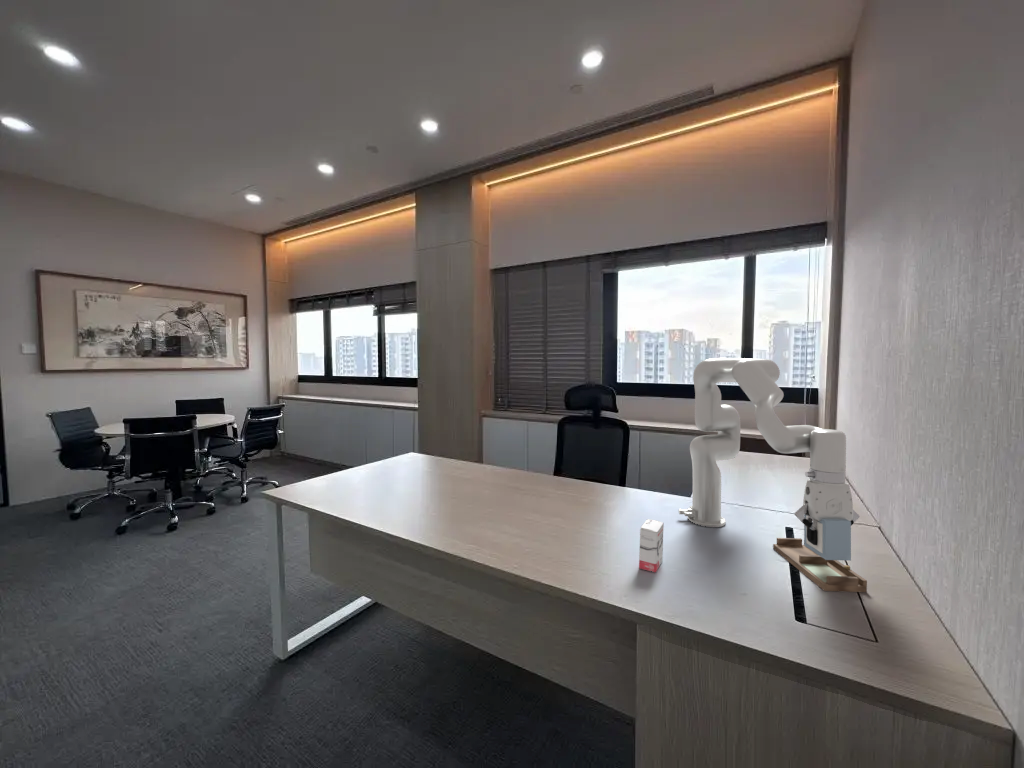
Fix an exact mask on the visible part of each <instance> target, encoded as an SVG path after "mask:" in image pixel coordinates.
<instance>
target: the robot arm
mask: <svg viewBox="0 0 1024 768" xmlns="http://www.w3.org/2000/svg"><path fill="white" fill-rule="evenodd" d="M780 371H781V370H780V367H779V366H778V364H777V363H776V362H775V361H773V360H771V359H768V358H745V357H744V358H742V357H734V358H733V357H718V358H717V357H714V358H708V359H704V360H702V361H700V362H699V363H698V364H697V365H696V366H695V369H694V370H693V375H692V376H693V377H692V379H693V385H694V393H695V394H694V395H695V396H694V400H695V401H694V424H695V427H696V428H697V430H699V431H701V432H707V433H711V432H717V434H704V435H699V436H696V437H694V438H693V439H692V440H691V441H690V443H689V444H690V445H689V453H690V458H691V464H692V466H691V467H692V500H691V501H692V504H691V505H690V506H689V508H687V509H686V508H685V509H684V508H679V509H678V514H679V515H684V516H685V517H687V519H689V520H690V521H691V522H690V521H689V520H688V521H689V522H690V523H692V522H693V523H692V524H694V523H695V525H697V524H698V526H700V525H701V527H705V526H706V528H721V527H724V526H726V523H727V521H726V518H724V517H723V516H722V472H721V470H720V467H719V466H718V464H717V462H720V461H729V460H733V459H736V458H737V456H738V455H739V453H740V449H741V426H742V425H741V416H740V413H739V411H738V410H737V409H736V408H735V407H734V406H733V405H731V404H730V405H729V404H722V393H721V389H720V388H719V387H718V383H737V385H738V386H739V387H740V389H741V390H742V392H743V393H745V395H746V397H747V398H748V399H749V400H750V402H751V403H752V404H753V406H754V407H755V410H754V419H755V420H754V421H755V425H756V428H757V430H758V432H759V433H760V434H761V436H762V437H763V438H764V440H765V441H766V442H767V444H768V445H769V446H770V447H771V448H772V449H773V450H774V451H776V452H777V453H780V454H797V453H808V452H809V470H808V471H805V473H804V475H805V477H806V478H809V479H807V480H806V483H805V487H804V492H803V503H802V506H801V507H799V509H798V510H796V511H795V512H794V514H793V515H794V516H795V517H796V518H797V519H798V520H800V522H801V523H802V524H803V525H805V526H806V527H807V539H808V541H809V542H810V543H812V544H813V545H817V543H818V531H817V530H815V529H816V527H817V522H818V521H822V519H847V520H849V521H851V526H853V525H854V524H855V522H856V521H857V520H859V518H860V515H859V514H858V513H857V512H856V511H855V510H854V505H853V495H852V490H851V487H850V483H848V482H846V473H847V471H846V467H847V466H846V464H847V462H846V461H847V453H846V452H847V435H846V434H845V432H843V431H841V430H839V429H831V428H830V429H829V428H821V427H818V426H815V425H811V424H801V425H800V424H798V425H794V424H793V425H785V424H784V423H783V421H782V420H781V419H780V418H779V416H778V415H777V414H776V412H775V407H776V406H777V405H778V404H779V403H780V402H781V401H782V400H783V398H784V396H785V395H784V391H783V390H782V389H781V388H780V387H779V385H778V384H777V383H776V382H777V381H778V380H779V378H780V376H781V374H780V373H781V372H780ZM804 514H805V515H807V516H808V517H807V519H806V518H805V517H804ZM812 519H813V521H812Z"/></svg>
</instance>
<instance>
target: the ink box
mask: <svg viewBox="0 0 1024 768" xmlns="http://www.w3.org/2000/svg"><path fill="white" fill-rule="evenodd" d="M664 527H665V526H664V522H663V521H660V520H655V519H646V520H645V521H644V523H643V524H642V525H641V526H640V529H639V536H640V537H639V555H638V556H639V558H638V559H639V560H638V569H640V570H643V571H648V572H651V571H652V572H651V573H657V571H658V570H659V567H660V565H661V564H662V563H663V558H664V557H663V553H664V552H663V550H664Z"/></svg>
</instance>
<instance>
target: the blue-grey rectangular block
mask: <svg viewBox="0 0 1024 768" xmlns="http://www.w3.org/2000/svg"><path fill="white" fill-rule="evenodd" d="M804 517H805V518H806V519H807V517H808V516H807V515H805V514H804ZM812 521H813V519H812ZM803 525H804V524H803ZM803 527H804V528H803V545H804V546H806V547H807V548H809V549H810V550H812V551H813V552H815V553H816V554H818V555H819V556H821V557H822V558H824V559H825V560H837V561H849V562H850V561H852V525H851V521H849V520H847V519H822V521H818V522H817V527H816V529H815V530H817V531H818V543H817V545H813V544H812V543H810V542H809V541H808V539H807V527H806V526H805V525H804V526H803Z"/></svg>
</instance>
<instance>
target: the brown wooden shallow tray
mask: <svg viewBox="0 0 1024 768" xmlns="http://www.w3.org/2000/svg"><path fill="white" fill-rule="evenodd" d="M772 547H773V548H772V549H773V550H774V551H775V552H777V553H778V554H779V555H780V556H782V557H783V558H784V559H785V560H786V561H787V562H789V564H790V565H792V566H793V567H795V568H796V569H797V570H798V571H800V572H801V573H802V574H803V575H804V576H806V578H808V579H810V580H811V581H812V582H813V583H814V584H815V585H817V586H818V587H819V588H820V589H822V590H823V591H824V592H850V593H867V592H868V591H867V589H868V588H867V587H868V580H867V579H866V578H864V577H863V576H861V575H860V574H859V573H857V572H855V571H853V570H852V569H851V566H850V565H847V564H844V563H842V562H840V560H825V559H824V558H822V557H821V556H819V555H818V554H816V553H815V552H813V551H812V550H810V549H809V548H807V547H806V546H804V544H803V539H802V538H797V537H796V538H793V537H776V543H773V544H772Z"/></svg>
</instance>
